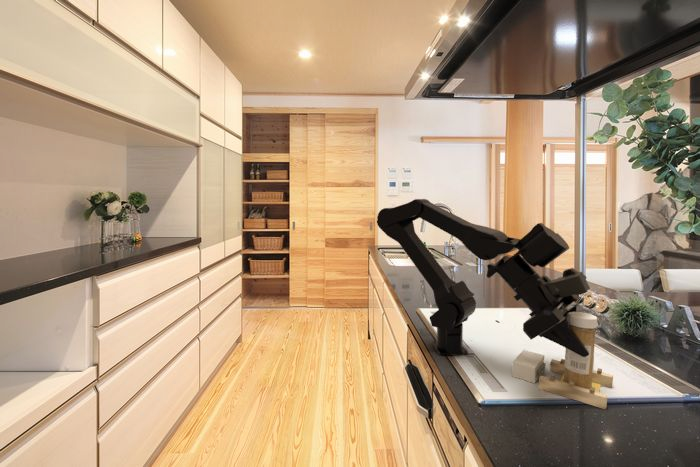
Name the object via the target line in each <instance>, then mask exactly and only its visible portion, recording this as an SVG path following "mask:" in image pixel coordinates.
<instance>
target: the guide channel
mask: <svg viewBox="0 0 700 467" xmlns="http://www.w3.org/2000/svg"><path fill="white" fill-rule="evenodd" d="M549 364H550V366H549V368H550V369H549V370H550V372H554V373H557V374H561V375H564V371H565V358H561V359H560V360H558V359H557V360H556V359H553V358H552V359H551V360H550V363H549ZM555 378H556V377H555V375H550V377H547V376H544V375H541V376H540V377H538V389H539V388H540V389H541V390H543V391H546V392H549V393H553V394H555V395H558V396H562V397H565V398H568V399H571V400H575V401H577V402H581V403H584V404H587V405H589V406H594V407H596V408H600V409H602V410H607V406H608V405H607V404H608V394H605V393H601V392H600V391H599V392H595V388H593V387H591V388H590V390H589V389H585V388H582V387H578V386H575V385H574V382H573V381H570V383H569V384H568V383H565V382H561V381H560V380H558V379H555ZM613 381H614V375H613V374H610V373H607V372H604V371H603V369H602V368H597V370H595V369H593V373H592V382H594V383H598V384H601V386H603V387H606V386H607V387H606V388H611V389H612V388H613V386H614V384H613Z"/></svg>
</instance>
